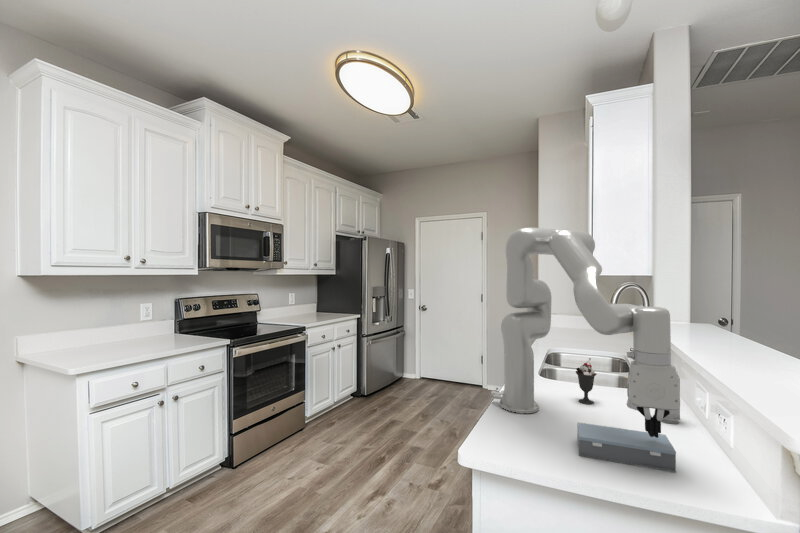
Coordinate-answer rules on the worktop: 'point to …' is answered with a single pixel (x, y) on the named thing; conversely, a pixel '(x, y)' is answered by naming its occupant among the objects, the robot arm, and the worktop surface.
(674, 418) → the energy drink can
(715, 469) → the worktop surface
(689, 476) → the worktop surface
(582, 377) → the sundae
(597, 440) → the blue-grey box lid
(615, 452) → the latched storage case
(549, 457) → the worktop surface
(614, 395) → the worktop surface
